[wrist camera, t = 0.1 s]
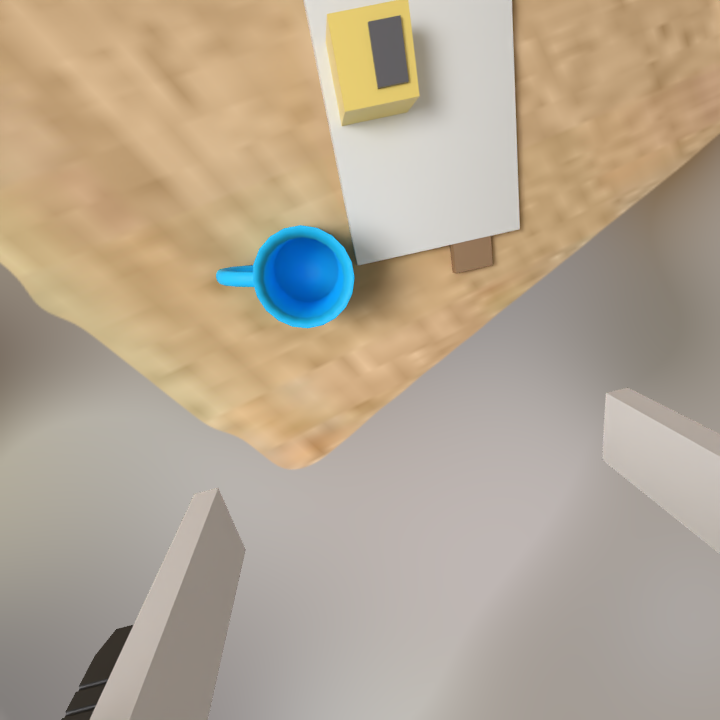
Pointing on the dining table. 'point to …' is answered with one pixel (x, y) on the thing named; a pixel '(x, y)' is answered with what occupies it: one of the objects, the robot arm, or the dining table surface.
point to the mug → (298, 276)
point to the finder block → (372, 61)
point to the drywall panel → (433, 138)
